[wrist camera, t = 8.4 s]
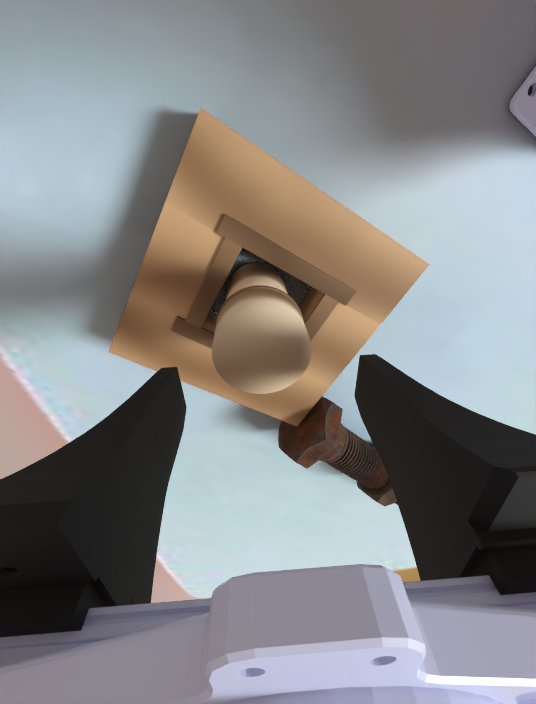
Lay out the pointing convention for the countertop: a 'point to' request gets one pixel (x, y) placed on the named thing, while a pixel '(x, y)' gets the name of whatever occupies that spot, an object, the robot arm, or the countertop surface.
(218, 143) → the board
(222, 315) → the peg
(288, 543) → the countertop surface
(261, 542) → the countertop surface
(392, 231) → the countertop surface
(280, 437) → the bolt
